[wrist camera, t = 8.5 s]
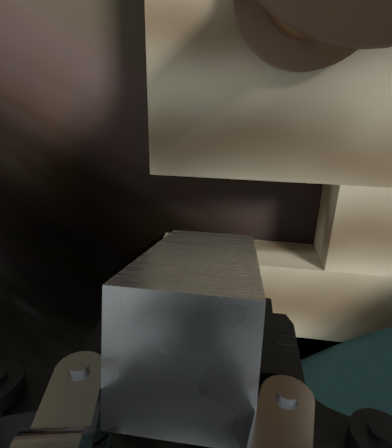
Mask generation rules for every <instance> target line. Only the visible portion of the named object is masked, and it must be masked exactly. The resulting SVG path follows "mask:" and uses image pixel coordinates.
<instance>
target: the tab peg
mask: <svg viewBox="0 0 392 448" xmlns="http://www.w3.org/2000/svg"><path fill="white" fill-rule="evenodd" d="M265 306H266V299H265V294H264V289H263V284H262V278H261V273H260V268H259V263H258V258H257V253H256V248H255V243H254V238H253V236H248V235H235V234H221V233H208V232H194V231H181V230H173V231H172V232H171V233H170V234H168V235H167V236H166V237H164V238H163V239H162V240H160V241H159V242H158V243H156V244H155V245H154V246H153V247H151V248H150V249H149V250H147V251H146V252H145V253H143V254H142V255H141V256H139V257H138V258H137V259H136V260H134V261H133V262H132V263H130V264H129V265H128V266H126V267H125V268H124V269H123V270H121V271H120V272H119V273H117V274H116V275H115V276H113V277H112V278H111V279H109V280H108V281H107V282H106V283H104V284H103V285H102V342H101V406H100V431H106V432H113V433H119V434H126V435H133V436H139V437H146V438H152V439H159V440H165V441H172V442H179V443H185V444H192V445H198V446H205V447H211V448H247V444H248V439H249V435H250V431H251V427H252V423H253V419H254V414H255V411H257V399H258V387H259V376H260V364H261V353H262V341H263V329H264V318H265Z"/></svg>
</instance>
